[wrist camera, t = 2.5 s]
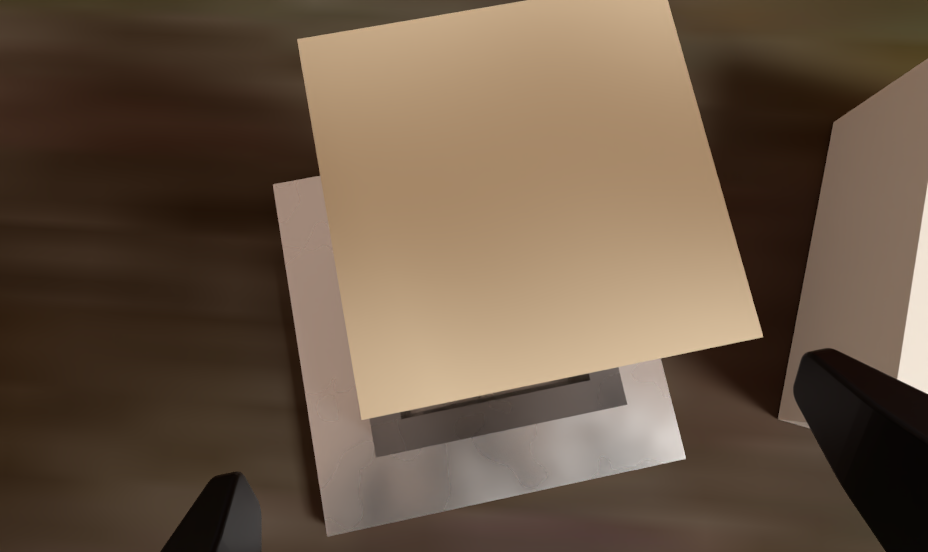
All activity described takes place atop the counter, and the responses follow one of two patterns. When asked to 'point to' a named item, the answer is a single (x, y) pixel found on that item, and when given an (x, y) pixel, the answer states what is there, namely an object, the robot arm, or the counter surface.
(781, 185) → the counter surface
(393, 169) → the strut
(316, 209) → the socket base
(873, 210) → the bin
